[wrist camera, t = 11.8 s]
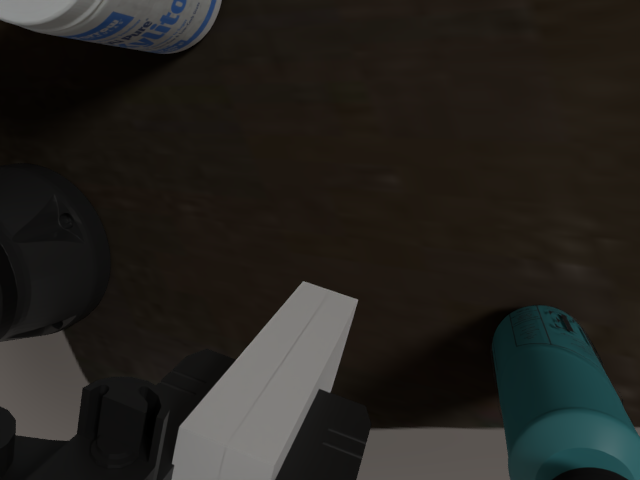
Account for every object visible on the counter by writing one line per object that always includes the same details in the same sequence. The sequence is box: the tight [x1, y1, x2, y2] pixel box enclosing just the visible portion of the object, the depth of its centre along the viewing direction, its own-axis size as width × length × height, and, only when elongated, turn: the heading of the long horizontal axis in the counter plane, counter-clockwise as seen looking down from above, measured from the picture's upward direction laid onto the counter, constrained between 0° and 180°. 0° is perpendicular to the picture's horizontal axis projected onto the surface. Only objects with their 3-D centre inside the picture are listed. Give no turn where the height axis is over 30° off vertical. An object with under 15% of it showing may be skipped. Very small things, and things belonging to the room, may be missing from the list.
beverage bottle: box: [490, 305, 640, 480], centre depth 30 cm, size 6×7×20 cm
